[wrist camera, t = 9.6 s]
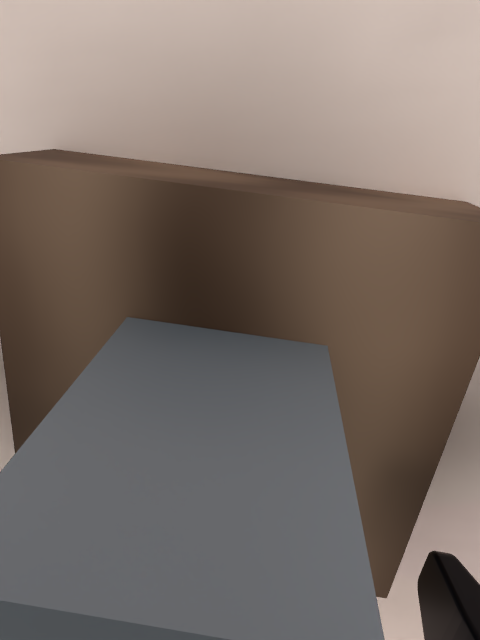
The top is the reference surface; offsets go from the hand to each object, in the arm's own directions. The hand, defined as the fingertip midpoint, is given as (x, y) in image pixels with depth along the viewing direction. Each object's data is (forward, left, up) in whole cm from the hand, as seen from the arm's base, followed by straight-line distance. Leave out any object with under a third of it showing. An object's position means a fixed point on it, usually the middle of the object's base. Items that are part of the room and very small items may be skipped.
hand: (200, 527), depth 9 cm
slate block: (0, 0, -4) cm, 4 cm away
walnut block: (0, 0, -8) cm, 8 cm away
